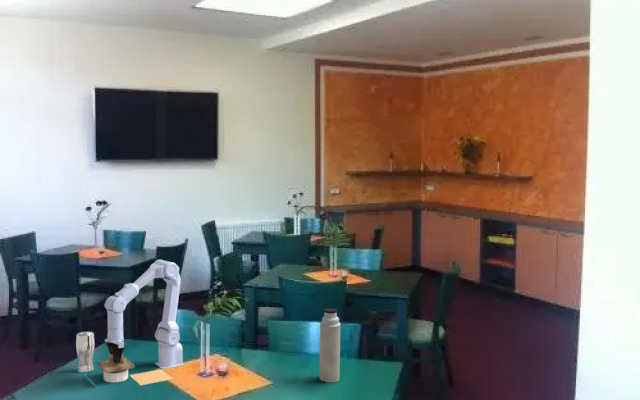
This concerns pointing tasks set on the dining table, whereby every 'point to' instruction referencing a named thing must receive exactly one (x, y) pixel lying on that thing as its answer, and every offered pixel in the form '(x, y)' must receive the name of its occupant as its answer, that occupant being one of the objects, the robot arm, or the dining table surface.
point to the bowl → (116, 376)
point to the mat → (151, 377)
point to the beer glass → (85, 351)
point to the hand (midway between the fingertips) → (115, 361)
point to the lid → (115, 364)
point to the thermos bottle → (330, 346)
